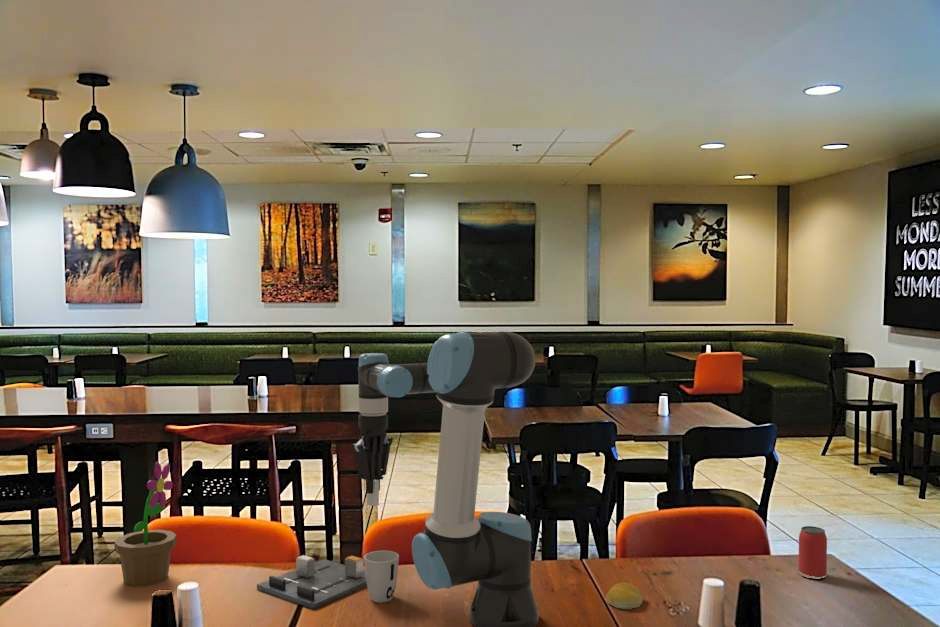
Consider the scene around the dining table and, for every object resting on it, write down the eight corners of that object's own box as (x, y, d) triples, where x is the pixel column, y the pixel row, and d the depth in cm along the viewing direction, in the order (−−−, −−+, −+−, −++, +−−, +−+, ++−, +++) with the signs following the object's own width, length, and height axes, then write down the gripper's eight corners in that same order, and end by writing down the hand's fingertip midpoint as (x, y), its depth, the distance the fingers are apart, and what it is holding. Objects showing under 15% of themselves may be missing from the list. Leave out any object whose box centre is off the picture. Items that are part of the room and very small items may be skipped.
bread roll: (603, 607, 175) (603, 590, 175) (611, 593, 183) (611, 577, 183) (639, 613, 172) (639, 595, 172) (646, 598, 180) (646, 582, 180)
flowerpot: (158, 591, 183) (157, 467, 183) (102, 588, 185) (101, 465, 184) (187, 569, 198) (186, 454, 197) (135, 567, 199) (134, 453, 198)
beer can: (799, 579, 193) (800, 531, 192) (796, 570, 199) (797, 524, 199) (828, 581, 191) (829, 534, 190) (824, 572, 197) (825, 526, 197)
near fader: (363, 575, 190) (363, 558, 190) (356, 578, 188) (356, 561, 188) (351, 572, 192) (351, 555, 192) (344, 574, 191) (344, 557, 190)
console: (379, 580, 191) (379, 567, 191) (313, 609, 173) (313, 595, 173) (324, 563, 202) (324, 551, 202) (256, 589, 185) (256, 576, 185)
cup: (392, 606, 175) (393, 563, 174) (359, 603, 176) (359, 560, 176) (403, 593, 183) (403, 551, 182) (370, 590, 184) (370, 549, 184)
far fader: (314, 575, 190) (314, 558, 190) (307, 577, 188) (307, 560, 188) (303, 571, 193) (303, 554, 193) (296, 574, 191) (296, 557, 191)
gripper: (379, 409, 203) (379, 496, 203) (344, 415, 192) (344, 508, 193) (401, 411, 198) (400, 501, 199) (366, 418, 188) (365, 513, 188)
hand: (372, 504), depth 196 cm, fingers closed
